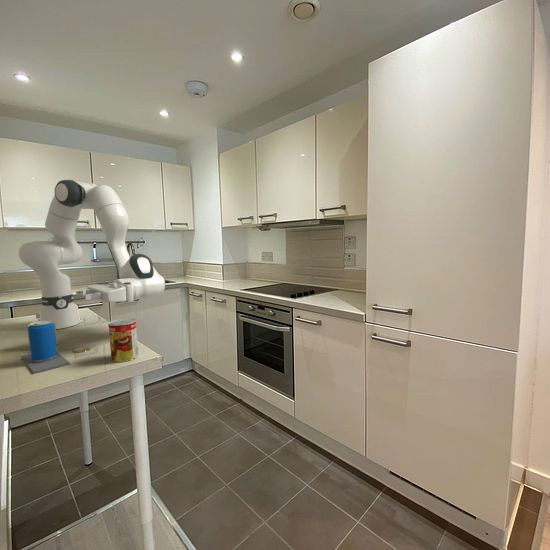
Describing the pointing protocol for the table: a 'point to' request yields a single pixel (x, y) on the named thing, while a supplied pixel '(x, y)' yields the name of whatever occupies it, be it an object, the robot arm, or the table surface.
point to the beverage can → (42, 341)
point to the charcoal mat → (45, 363)
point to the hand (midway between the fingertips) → (80, 295)
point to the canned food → (123, 339)
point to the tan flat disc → (81, 349)
